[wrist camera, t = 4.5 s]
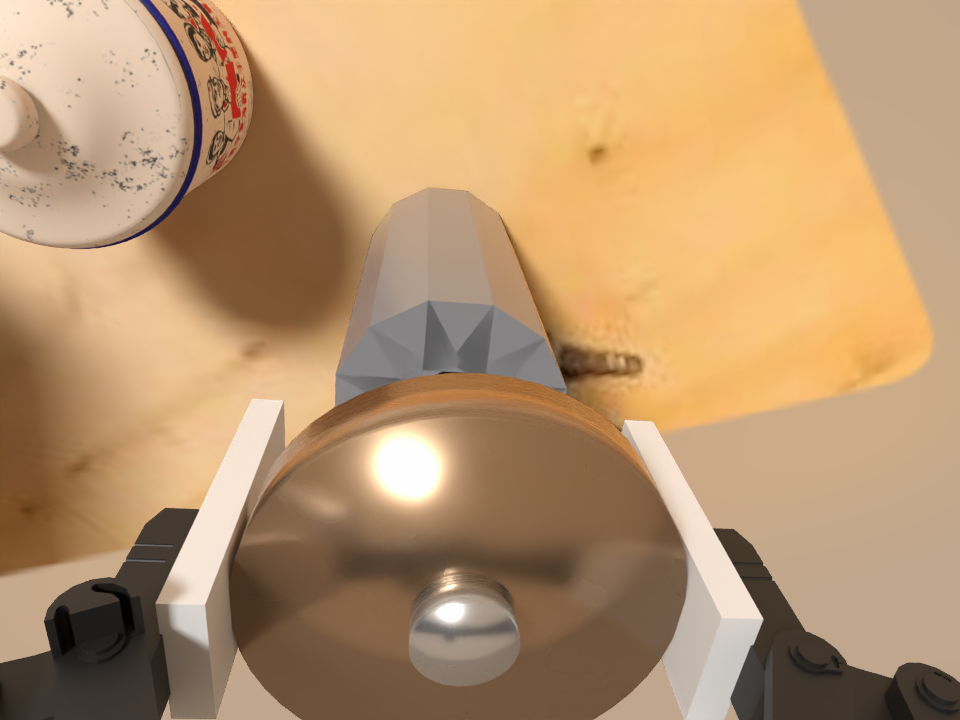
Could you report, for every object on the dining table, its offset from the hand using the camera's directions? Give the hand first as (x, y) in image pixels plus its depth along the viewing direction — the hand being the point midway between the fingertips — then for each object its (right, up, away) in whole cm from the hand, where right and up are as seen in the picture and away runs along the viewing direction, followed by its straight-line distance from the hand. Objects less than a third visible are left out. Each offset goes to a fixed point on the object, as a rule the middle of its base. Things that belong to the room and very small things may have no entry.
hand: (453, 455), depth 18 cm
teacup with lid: (-13, +15, +10) cm, 23 cm away
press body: (-1, +6, +15) cm, 16 cm away
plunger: (-1, +4, +8) cm, 8 cm away
